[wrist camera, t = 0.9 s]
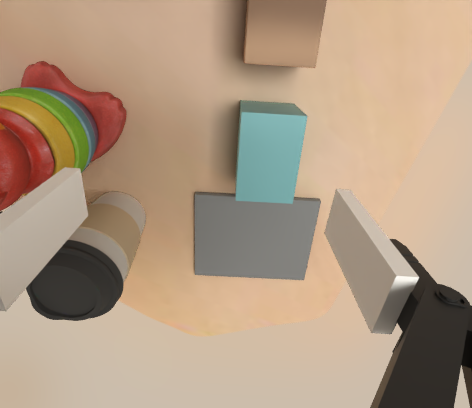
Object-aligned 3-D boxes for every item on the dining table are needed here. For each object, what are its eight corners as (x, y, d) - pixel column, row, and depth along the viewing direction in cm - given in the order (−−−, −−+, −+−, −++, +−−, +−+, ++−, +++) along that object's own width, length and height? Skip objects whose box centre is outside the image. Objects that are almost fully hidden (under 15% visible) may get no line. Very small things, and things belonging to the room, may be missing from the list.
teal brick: (240, 100, 33) (241, 112, 27) (294, 103, 33) (307, 116, 27) (235, 175, 37) (235, 200, 31) (283, 178, 38) (292, 203, 31)
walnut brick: (250, -49, 27) (254, -78, 21) (315, -44, 27) (338, -71, 21) (243, 60, 31) (244, 63, 25) (299, 64, 32) (315, 68, 25)
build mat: (195, 191, 38) (194, 194, 38) (319, 198, 39) (320, 201, 38) (195, 271, 44) (194, 274, 44) (302, 276, 45) (303, 280, 44)
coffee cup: (115, 169, 37) (46, 238, 24) (168, 217, 40) (134, 302, 27) (71, 211, 40) (-12, 293, 26) (124, 253, 43) (74, 345, 29)
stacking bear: (132, 103, 33) (38, 152, 18) (106, 178, 37) (12, 272, 22) (32, 53, 31) (-180, 58, 15) (16, 138, 35) (-162, 212, 19)
